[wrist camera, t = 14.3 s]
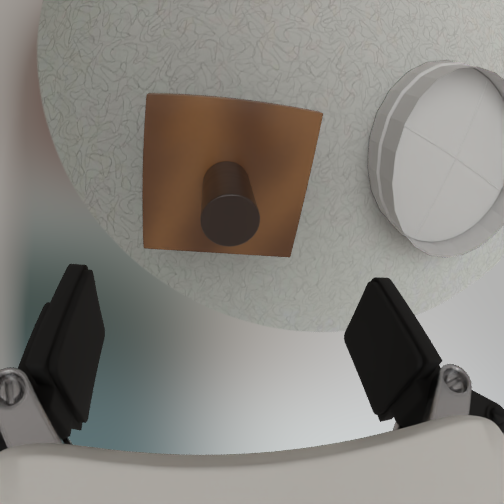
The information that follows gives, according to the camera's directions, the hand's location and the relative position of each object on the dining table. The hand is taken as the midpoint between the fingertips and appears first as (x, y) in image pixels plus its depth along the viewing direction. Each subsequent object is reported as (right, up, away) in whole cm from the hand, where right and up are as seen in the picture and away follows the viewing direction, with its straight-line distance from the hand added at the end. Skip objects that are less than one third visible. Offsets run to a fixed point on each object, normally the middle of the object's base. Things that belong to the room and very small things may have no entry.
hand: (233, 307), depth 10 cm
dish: (+23, +13, +20) cm, 33 cm away
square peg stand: (-1, +7, +11) cm, 13 cm away
